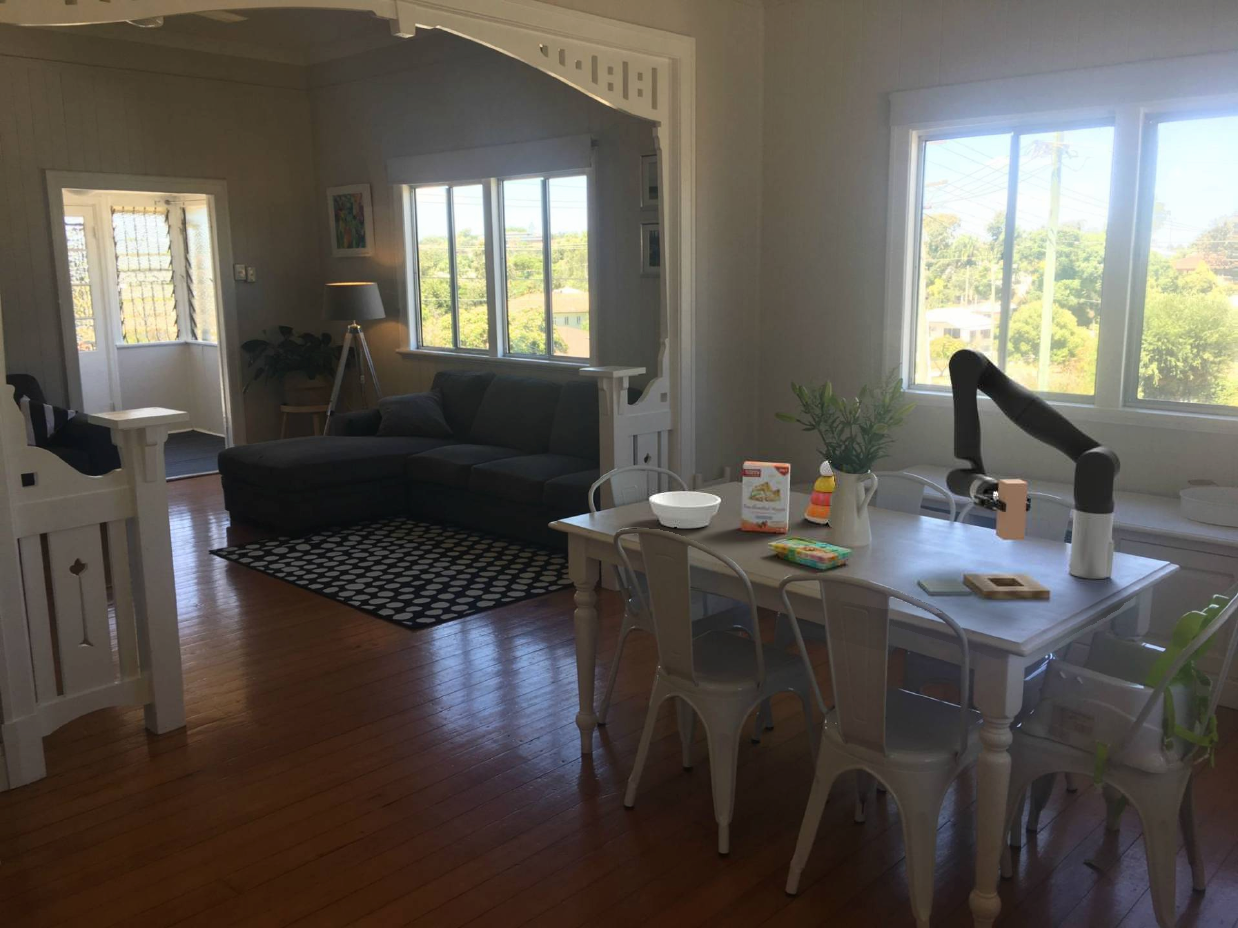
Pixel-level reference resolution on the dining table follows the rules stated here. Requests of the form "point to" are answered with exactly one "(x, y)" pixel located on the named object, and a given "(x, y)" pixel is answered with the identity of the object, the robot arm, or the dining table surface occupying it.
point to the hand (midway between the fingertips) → (1016, 507)
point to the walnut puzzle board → (1018, 587)
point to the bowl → (684, 508)
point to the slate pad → (943, 587)
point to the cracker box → (765, 497)
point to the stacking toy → (821, 496)
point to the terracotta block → (1012, 509)
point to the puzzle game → (810, 552)
